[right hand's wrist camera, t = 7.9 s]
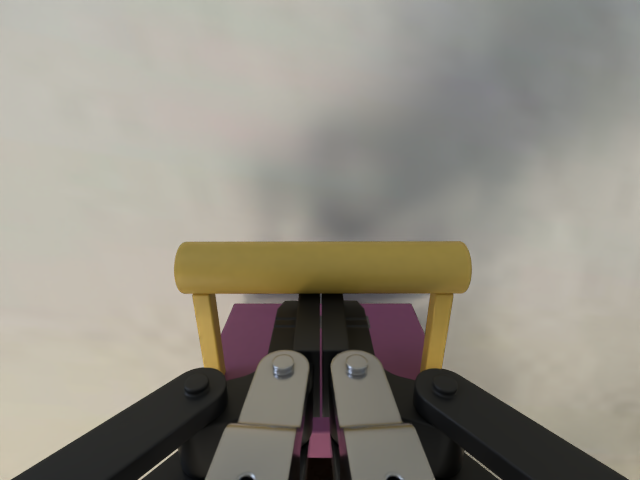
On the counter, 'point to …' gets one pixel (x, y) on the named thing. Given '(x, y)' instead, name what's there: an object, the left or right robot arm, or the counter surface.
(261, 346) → the drawer
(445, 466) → the right robot arm
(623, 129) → the counter surface
